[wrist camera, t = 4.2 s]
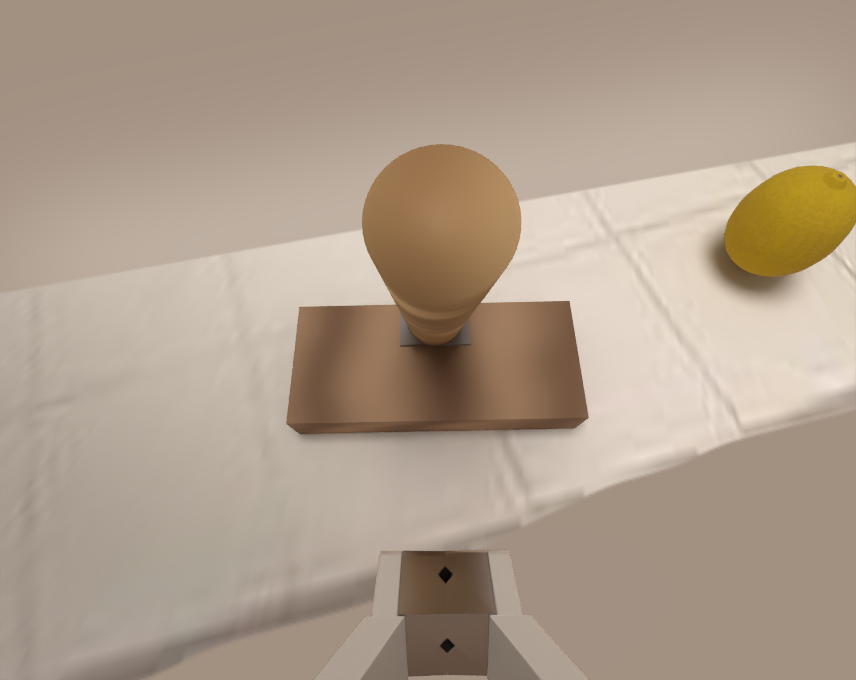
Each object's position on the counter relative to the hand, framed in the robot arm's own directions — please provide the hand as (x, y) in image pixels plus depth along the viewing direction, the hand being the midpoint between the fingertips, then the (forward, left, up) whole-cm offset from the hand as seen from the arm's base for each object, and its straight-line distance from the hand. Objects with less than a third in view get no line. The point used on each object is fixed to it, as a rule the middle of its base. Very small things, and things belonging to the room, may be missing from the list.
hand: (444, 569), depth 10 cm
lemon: (+21, +17, -14) cm, 31 cm away
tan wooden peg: (0, +12, -11) cm, 16 cm away
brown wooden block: (0, +10, -14) cm, 17 cm away
